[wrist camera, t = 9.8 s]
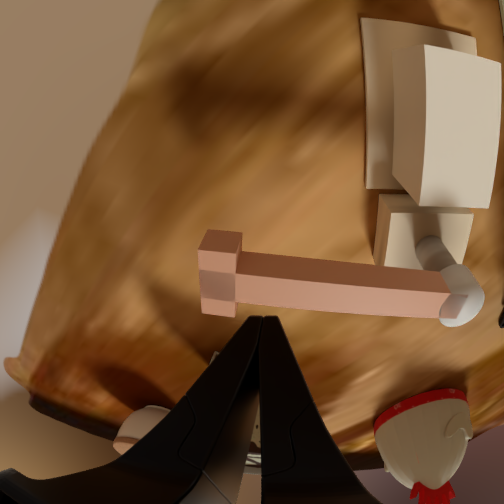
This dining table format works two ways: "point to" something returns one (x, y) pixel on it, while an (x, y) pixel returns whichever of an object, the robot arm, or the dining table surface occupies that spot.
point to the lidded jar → (138, 426)
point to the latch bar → (330, 284)
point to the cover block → (445, 125)
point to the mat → (502, 12)
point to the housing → (381, 157)
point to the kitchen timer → (425, 442)
